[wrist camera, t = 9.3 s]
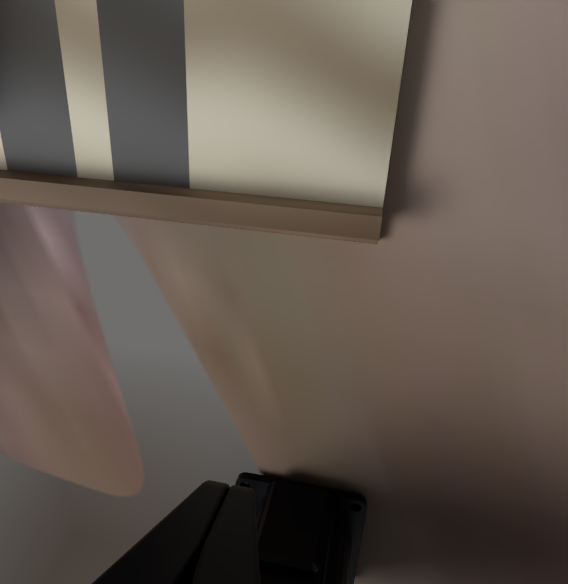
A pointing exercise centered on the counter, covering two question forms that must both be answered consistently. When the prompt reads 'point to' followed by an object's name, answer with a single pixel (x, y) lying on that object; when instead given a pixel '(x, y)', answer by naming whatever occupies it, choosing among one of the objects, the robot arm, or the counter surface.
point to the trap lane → (204, 110)
